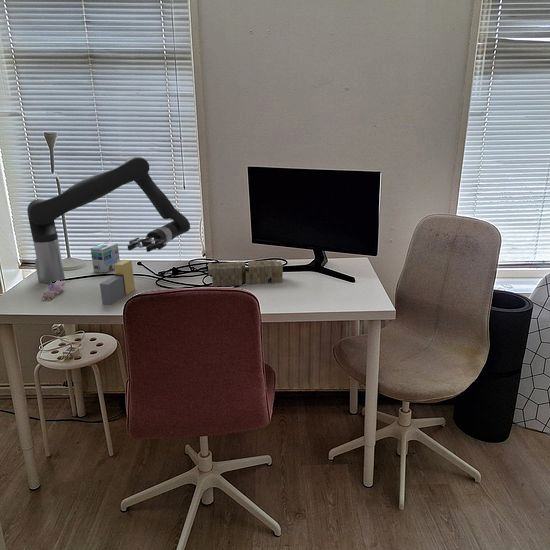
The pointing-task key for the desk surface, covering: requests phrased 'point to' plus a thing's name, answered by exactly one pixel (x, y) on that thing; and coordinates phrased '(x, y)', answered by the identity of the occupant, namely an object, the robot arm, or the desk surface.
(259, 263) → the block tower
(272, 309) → the desk surface
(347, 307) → the desk surface
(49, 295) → the rabbit figure
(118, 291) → the blue-grey block
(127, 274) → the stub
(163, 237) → the robot arm
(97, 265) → the light bulb box
